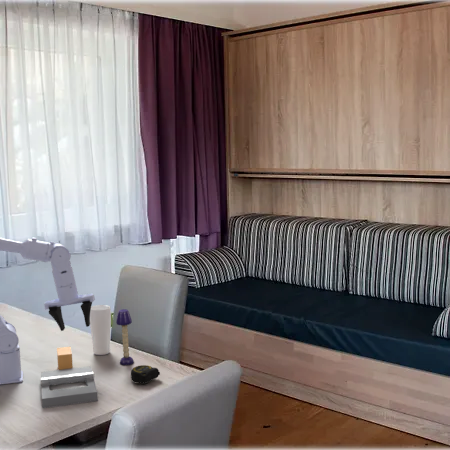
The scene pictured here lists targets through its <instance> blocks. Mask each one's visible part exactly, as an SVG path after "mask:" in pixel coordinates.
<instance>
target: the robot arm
mask: <svg viewBox="0 0 450 450" xmlns="http://www.w3.org/2000/svg"><path fill="white" fill-rule="evenodd" d="M0 252H9V253H15V254H20V256H21V257H22V259H24V260H31V261H36V262H42V263H48V262H50V265H51V268H52V272H51V274H52V277H53V281H54V285H55V290H56V293H57V298H54V299H52V300H46V301H45V302H44V303H43V306H44V309H45V310H48V315H50V316H51V317H52V319H54V321H55V322H56V324H57V326H58V327H59V330H60V332H62V331H64V330H65V329H66V327H65V322H64V319H63V313H62V307H64V306H70V305H76V304H81V305H80V308H81V312H82V314H83V316H84V317H83V318H84V324H85V327H87V328H88V327H90V310H91V307H92V306H93V302H94V301H95V300H96V298H95V294H94V293H93V292H92V293H87V294H86V293H85V294H83V293H81V294H79V293H78V292H79V291H78V288H77V284H76V279H75V275H74V271H73V270H74V269H73V266H72V265H71V257H72V256H71V253H70V251H69V249H68V248H67V247H66V246H65V245H64V244H61V243H59V242H55V241H49V242H48V241H42V240H38V239H37V237H31V239H30V238H26V239H25V240H24V241H17V240H13V239H8V238H3V237H0ZM19 342H20V341H19V337H18V335H17V329H16V328H15V325H13V324H12V323H9V322H8V321H6V319H5V318H4V317H3V315H2V314H0V385H8V384H13V383H14V384H16V383H22V382H23V381H24V371H23V370H22V365H21V348H20V345H19Z"/></svg>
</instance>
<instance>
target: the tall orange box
mask: <svg viewBox="0 0 450 450" xmlns="http://www.w3.org/2000/svg"><path fill="white" fill-rule="evenodd" d="M56 356H57V357H56V359H57V370H62V369H70V368H74V367H73V366H74V365H73V352H72V348H71V346H62V347H56Z"/></svg>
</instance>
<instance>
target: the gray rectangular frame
mask: <svg viewBox="0 0 450 450" xmlns="http://www.w3.org/2000/svg"><path fill="white" fill-rule="evenodd" d="M87 372H93V369H92V366H91V365H90V366H89V365H88V366H81V367H73V368H70V369H62V370H58V369H55V370H46V371H40V379H41V378H45V377H53V376H62V375H70V374H78V373H87ZM84 382H85V386H84V385H83V386H75V387H67V388H59V389H58V388H57V389H52V390H51V389H50V387H52V386H58V385H66V384H73V383H76V384H77V383H84ZM40 389H41V406H42V409H46V408H55V407H63V406H70V405H71V406H72V405H77V404H83V403H84V404H85V403H92V402H93V403H94V402H98V401H99V393H98V389H97V384H96V381H95V378H94V379H93V380H84V381H76V382H68V383H60V384H52V385H43V386H41V388H40Z"/></svg>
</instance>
